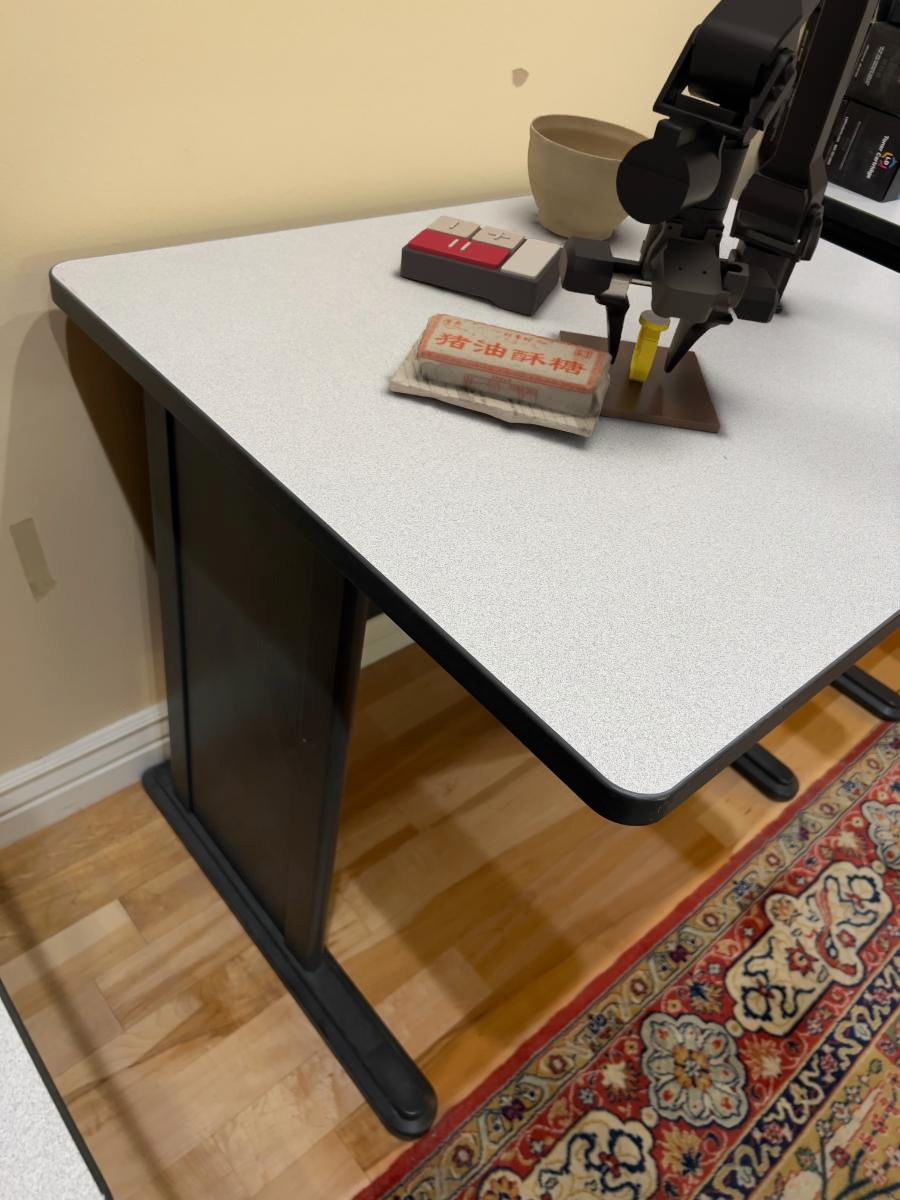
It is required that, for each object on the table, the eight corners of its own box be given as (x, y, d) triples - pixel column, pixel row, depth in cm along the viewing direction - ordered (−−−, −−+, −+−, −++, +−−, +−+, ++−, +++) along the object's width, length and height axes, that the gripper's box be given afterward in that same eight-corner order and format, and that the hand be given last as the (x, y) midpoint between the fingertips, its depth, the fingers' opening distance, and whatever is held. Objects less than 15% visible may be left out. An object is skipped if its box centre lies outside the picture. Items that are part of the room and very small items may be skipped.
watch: (623, 357, 86) (642, 299, 82) (651, 363, 86) (671, 305, 82) (620, 386, 82) (639, 326, 78) (649, 393, 82) (670, 334, 78)
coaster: (692, 358, 90) (694, 351, 90) (718, 433, 80) (721, 425, 80) (557, 337, 89) (559, 329, 89) (566, 410, 79) (568, 402, 78)
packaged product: (621, 338, 78) (603, 392, 71) (609, 387, 81) (590, 443, 74) (426, 294, 80) (390, 341, 73) (422, 343, 84) (387, 393, 77)
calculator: (439, 210, 99) (567, 241, 96) (435, 248, 102) (560, 279, 99) (400, 240, 92) (538, 275, 89) (398, 281, 94) (531, 316, 91)
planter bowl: (622, 267, 105) (650, 171, 98) (495, 229, 108) (513, 132, 100) (648, 226, 117) (675, 138, 109) (533, 193, 119) (552, 104, 112)
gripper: (592, 213, 66) (545, 396, 77) (830, 254, 68) (752, 427, 78) (580, 165, 74) (540, 336, 85) (793, 202, 76) (727, 365, 87)
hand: (638, 366), depth 84 cm, fingers open, 5 cm apart
